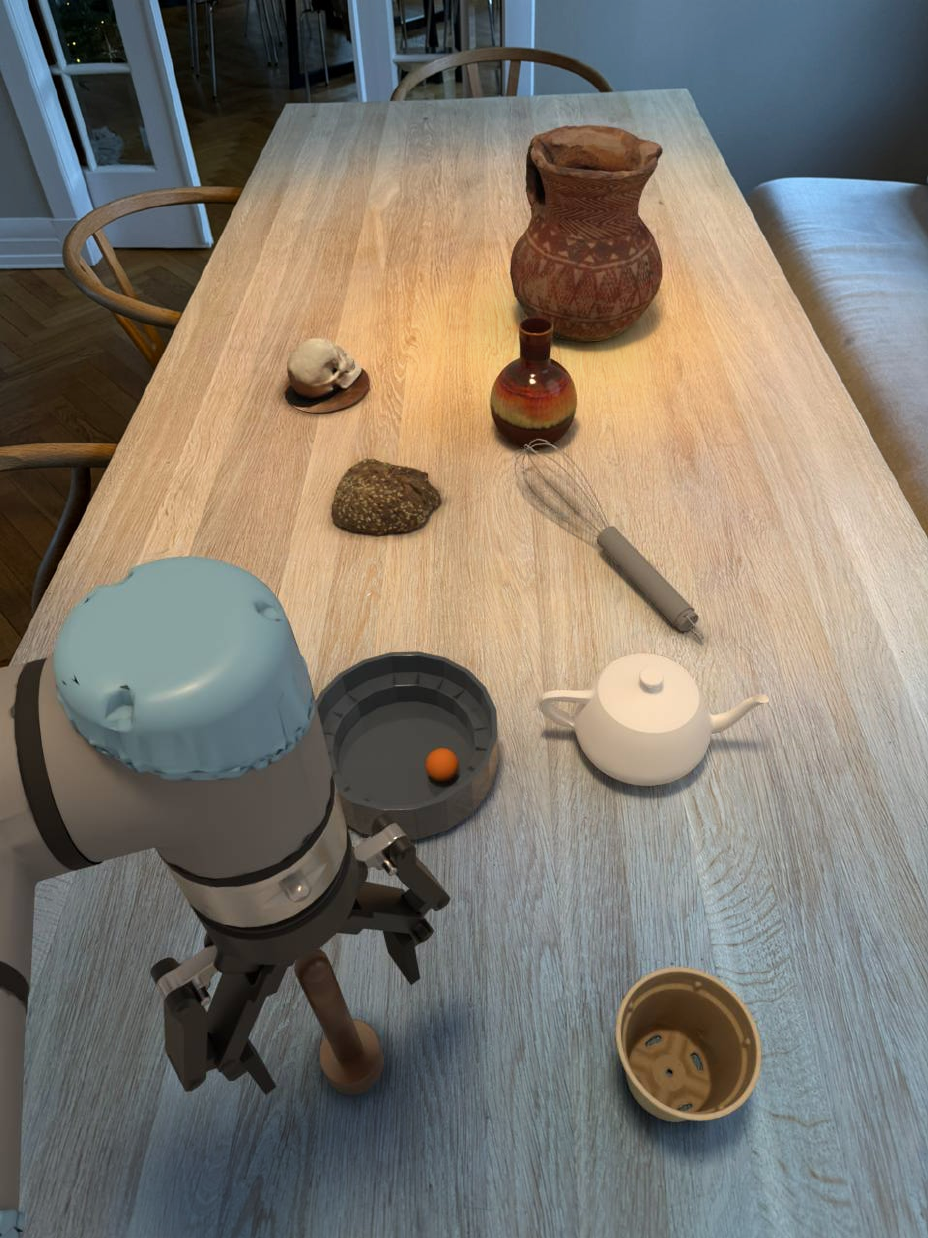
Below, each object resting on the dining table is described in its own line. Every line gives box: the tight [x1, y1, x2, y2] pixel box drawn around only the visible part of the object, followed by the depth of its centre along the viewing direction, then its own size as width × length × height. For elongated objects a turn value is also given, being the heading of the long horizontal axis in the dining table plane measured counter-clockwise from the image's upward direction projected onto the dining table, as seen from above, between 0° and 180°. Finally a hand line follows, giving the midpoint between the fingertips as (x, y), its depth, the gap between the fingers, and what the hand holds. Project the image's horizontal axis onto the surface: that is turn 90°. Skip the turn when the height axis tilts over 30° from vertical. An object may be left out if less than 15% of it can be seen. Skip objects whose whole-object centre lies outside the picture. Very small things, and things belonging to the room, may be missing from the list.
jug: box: [509, 124, 664, 342], centre depth 125 cm, size 22×21×25 cm
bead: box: [426, 748, 459, 782], centre depth 80 cm, size 3×3×3 cm
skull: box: [283, 337, 370, 414], centre depth 123 cm, size 12×10×10 cm
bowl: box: [315, 650, 499, 840], centre depth 81 cm, size 17×17×6 cm
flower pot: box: [615, 966, 763, 1123], centre depth 61 cm, size 9×9×9 cm
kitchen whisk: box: [513, 439, 705, 640], centre depth 99 cm, size 6×34×6 cm, turn 30°
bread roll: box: [330, 457, 442, 536], centre depth 106 cm, size 13×12×5 cm
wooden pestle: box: [293, 948, 385, 1096], centre depth 57 cm, size 4×4×21 cm
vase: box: [489, 317, 578, 450], centre depth 111 cm, size 11×11×15 cm
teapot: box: [539, 652, 770, 787], centre depth 80 cm, size 20×12×10 cm, turn 85°
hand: (334, 1016), depth 56 cm, fingers open, 10 cm apart
